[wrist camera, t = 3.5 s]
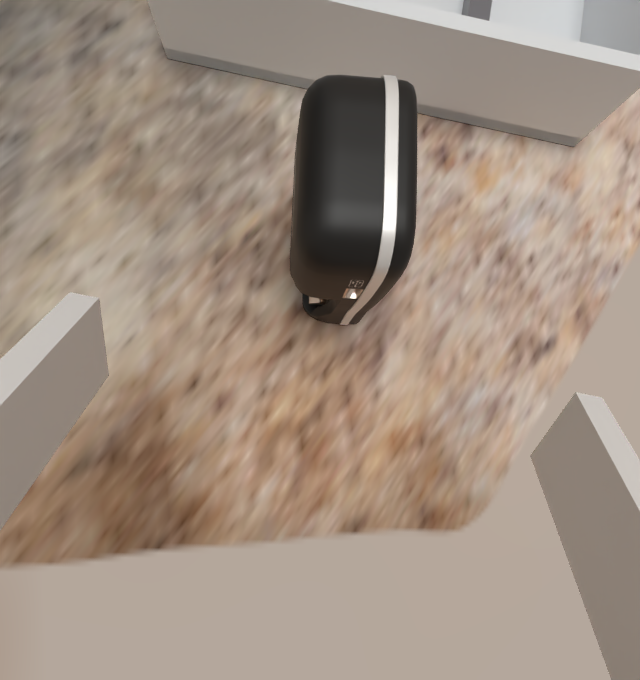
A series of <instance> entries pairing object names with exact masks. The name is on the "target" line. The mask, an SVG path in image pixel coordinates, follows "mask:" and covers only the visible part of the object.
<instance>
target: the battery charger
mask: <svg viewBox="0 0 640 680" xmlns="http://www.w3.org/2000/svg"><path fill="white" fill-rule="evenodd" d="M416 198H417V97H416V92H415V88H414V86H413V85H412V84H411V83H409V82H408V81H405V80H398V79H397V78H396V76H391V75H382V76H381V77H380V78H375V77H363V76H351V75H326V76H324V77H322V78H319V79H317V80H316V81H315V82H314V83H313V84H312V85H311V86H310V87H309V88H308V90H307V92H306V94H305V96H304V98H303V100H302V105H301V111H300V118H299V125H298V133H297V142H296V151H295V165H294V186H293V206H292V227H291V248H290V272H291V276H292V278H293V280H294V282H295V285H296V287H297V288H298V289H299V291H300V292H301V293H303V296H302V298H303V307H304V309H305V311H306V312H307V313H308V314H309V315H310V316H311V317H313V318H315V319H317V320H320V321H324V322H328V323H340V325H348V324H355V323H358V322H359V321H360V320H361V318H362V317H363V316H364V315H365V314H366V312H367V311H368V310H369V309H371V308H372V307H373V306H374V305H376V304H377V303H378V302H379V301H380V300H381V299H382V298H383V297H384V296H385V295H386V294H387V293H388V292H389V290H390V289H391V288H392V287H393V286H394V284H395V283H396V282H397V281H398V279H399V278H400V277H401V275H402V274H403V272H404V270H405V269H406V267H407V265H408V262H409V260H410V257H411V253H412V248H413V244H414V236H415V228H416Z"/></svg>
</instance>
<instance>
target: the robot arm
mask: <svg viewBox="0 0 640 680" xmlns="http://www.w3.org/2000/svg"><path fill="white" fill-rule="evenodd" d="M108 376H109V373H108V365H107V357H106V349H105V341H104V333H103V325H102V317H101V309H100V301H99V298H97V297H92V296H87V295H82V294H77V293H72V292H70V293H68V294H67V295H66V296H65V297H64V298H63V299H62V300H61V301H60V302H59V303H58V304H57V305H56V306H55V307H54V308H53V309H52V310H51V311H50V312H49V313H48V314H47V315H46V316H45V317H44V318H43V319H42V320H40V321H39V322H38V323H37V324H36V325H35V326H34V327H33V328H32V329H31V330H30V331H29V332H28V333H27V334H26V335H25V336H24V337H23V338H22V339H21V340H20V341H19V342H18V343H17V344H16V345H15V346H14V347H13V348H11V349H10V350H9V351H8V352H7V353H6V354H5V355H4V356H3V357H2V358H1V359H0V530H1V529H2V527H3V526H4V525H5V523H6V522H7V520H8V519H9V517H10V516H11V514H12V513H13V512H14V510H15V509H16V507H17V506H18V504H19V503H20V502H21V500H22V499H23V497H24V496H25V494H26V493H27V492H28V490H29V489H30V487H31V486H32V484H33V483H34V482H35V480H36V479H37V477H38V476H39V474H40V473H41V472H42V470H43V469H44V467H45V466H46V464H47V463H48V462H49V460H50V459H51V457H52V456H53V454H54V453H55V451H56V450H57V449H58V447H59V446H60V444H61V443H62V441H63V440H64V439H65V437H66V436H67V434H68V433H69V431H70V430H71V429H72V427H73V426H74V424H75V423H76V421H77V420H78V419H79V417H80V416H81V414H82V413H83V411H84V410H85V409H86V407H87V406H88V404H89V403H90V401H91V400H92V399H93V397H94V396H95V394H96V393H97V391H98V390H99V388H100V387H101V386H102V384H103V383H104V381H105V380H106V378H107V377H108ZM531 459H532V462H533V465H534V467H535V470H536V473H537V476H538V478H539V481H540V484H541V487H542V489H543V492H544V495H545V498H546V500H547V503H548V506H549V509H550V512H551V514H552V517H553V520H554V522H555V525H556V528H557V531H558V534H559V536H560V539H561V542H562V545H563V547H564V550H565V553H566V556H567V558H568V561H569V564H570V567H571V570H572V572H573V575H574V578H575V581H576V583H577V586H578V589H579V592H580V594H581V597H582V600H583V603H584V605H585V608H586V611H587V614H588V616H589V619H590V622H591V625H592V627H593V630H594V633H595V636H596V639H597V641H598V644H599V647H600V650H601V652H602V655H603V658H604V660H605V663H606V666H607V669H608V672H609V674H610V677H611V680H640V460H639V458H638V457H637V455H636V453H635V452H634V450H633V448H632V447H631V445H630V443H629V441H628V440H627V438H626V437H625V435H624V433H623V431H622V430H621V428H620V426H619V425H618V423H617V421H616V420H615V418H614V416H613V415H612V413H611V411H610V410H609V408H608V406H607V405H606V403H605V401H604V400H603V398H602V397H596V396H591V395H586V394H582V393H577V392H576V393H575V394H574V396H573V397H572V398H571V400H570V401H569V402H568V404H567V405H566V407H565V408H564V409H563V411H562V413H561V414H560V415H559V416H558V418H557V419H556V421H555V422H554V424H553V425H552V426H551V428H550V429H549V430H548V432H547V433H546V435H545V436H544V437H543V439H542V440H541V442H540V443H539V445H538V446H537V447H536V449H535V450H534V451H533V453H532V454H531Z"/></svg>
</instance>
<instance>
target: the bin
mask: <svg viewBox="0 0 640 680" xmlns="http://www.w3.org/2000/svg"><path fill="white" fill-rule="evenodd" d="M147 2H148V5H149V8H150V10H151V13H152V16H153V19H154V22H155V25H156V28H157V30H158V33H159V36H160V39H161V42H162V45H163V48H164V50H165V53H166V56H167V58H168V59H172V60H177V61H181V62H186V63H191V64H195V65H200V66H204V67H209V68H214V69H218V70H223V71H227V72H232V73H237V74H241V75H246V76H250V77H255V78H260V79H264V80H269V81H273V82H278V83H283V84H287V85H292V86H296V87H301V88H306V89H308V88H309V87H310V86H311V85H312V84H313V83H314V82H315V81H316V80H317V79H319V78H322V77H324V76H326V75H351V76H363V77H375V78H380V77H381V76H382V75H391V76H396V78H397V79H398V80H405V81H408V82H409V83H411V84H412V85H413V86H414V88H415V92H416V97H417V113H420V114H425V115H430V116H434V117H439V118H443V119H448V120H453V121H457V122H462V123H466V124H471V125H475V126H480V127H485V128H489V129H494V130H498V131H503V132H508V133H512V134H517V135H521V136H526V137H531V138H535V139H540V140H544V141H549V142H554V143H558V144H563V145H567V146H572V147H574V146H576V145H577V144H578V143H579V142H580V141H581V140H582V139H583V138H584V137H586V136H587V135H588V134H589V133H590V132H591V131H592V130H593V129H594V128H596V127H597V126H598V125H599V124H600V123H601V122H602V121H603V120H605V119H606V118H607V117H608V116H609V115H610V114H611V113H612V112H613V111H615V110H616V109H617V108H618V107H619V106H620V105H621V104H622V103H624V102H625V101H626V100H627V99H628V98H629V97H630V96H631V95H632V94H634V93H635V92H636V91H637V90H638V89H639V88H640V0H147Z"/></svg>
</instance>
